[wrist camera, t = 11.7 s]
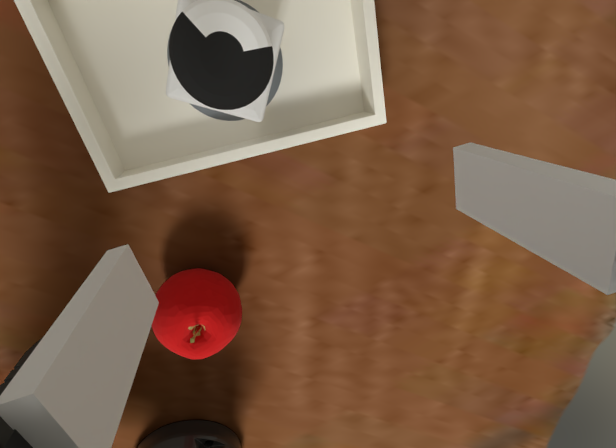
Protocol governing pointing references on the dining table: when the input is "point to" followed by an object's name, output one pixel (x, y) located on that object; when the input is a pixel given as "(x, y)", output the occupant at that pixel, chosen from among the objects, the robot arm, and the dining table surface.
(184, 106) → the tray
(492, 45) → the dining table surface
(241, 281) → the dining table surface
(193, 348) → the fruit
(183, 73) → the medicine bottle
